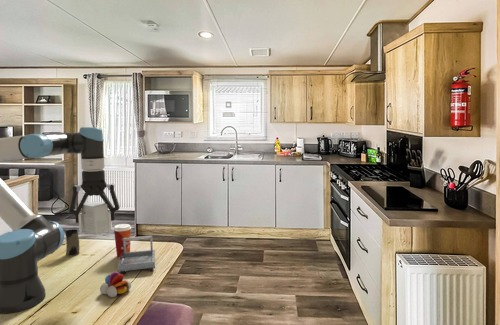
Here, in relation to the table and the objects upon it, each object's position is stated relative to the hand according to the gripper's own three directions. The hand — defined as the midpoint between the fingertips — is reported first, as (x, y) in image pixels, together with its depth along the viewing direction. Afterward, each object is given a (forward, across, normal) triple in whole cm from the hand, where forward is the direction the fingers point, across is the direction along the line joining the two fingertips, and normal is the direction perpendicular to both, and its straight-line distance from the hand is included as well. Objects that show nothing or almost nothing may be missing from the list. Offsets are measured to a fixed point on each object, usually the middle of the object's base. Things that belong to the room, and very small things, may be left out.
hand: (96, 230), depth 125 cm
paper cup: (+21, +6, +27) cm, 35 cm away
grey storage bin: (+21, +13, +13) cm, 28 cm away
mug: (+21, -18, +35) cm, 44 cm away
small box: (+1, 0, 0) cm, 1 cm away
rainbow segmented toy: (+21, +7, -8) cm, 24 cm away
